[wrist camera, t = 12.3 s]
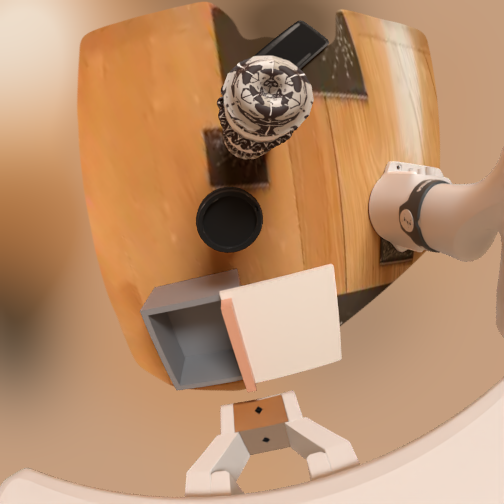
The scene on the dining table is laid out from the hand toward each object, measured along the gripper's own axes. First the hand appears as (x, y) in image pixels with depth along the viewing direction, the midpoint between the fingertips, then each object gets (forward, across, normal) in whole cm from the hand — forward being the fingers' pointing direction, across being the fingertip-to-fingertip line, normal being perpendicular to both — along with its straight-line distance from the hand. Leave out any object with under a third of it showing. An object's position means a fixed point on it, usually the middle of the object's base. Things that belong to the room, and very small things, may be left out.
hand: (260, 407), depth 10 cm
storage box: (+39, +9, +15) cm, 43 cm away
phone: (+40, -18, -32) cm, 54 cm away
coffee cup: (+39, 0, -4) cm, 40 cm away
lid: (+29, -5, +15) cm, 33 cm away
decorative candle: (+39, -6, -16) cm, 43 cm away
